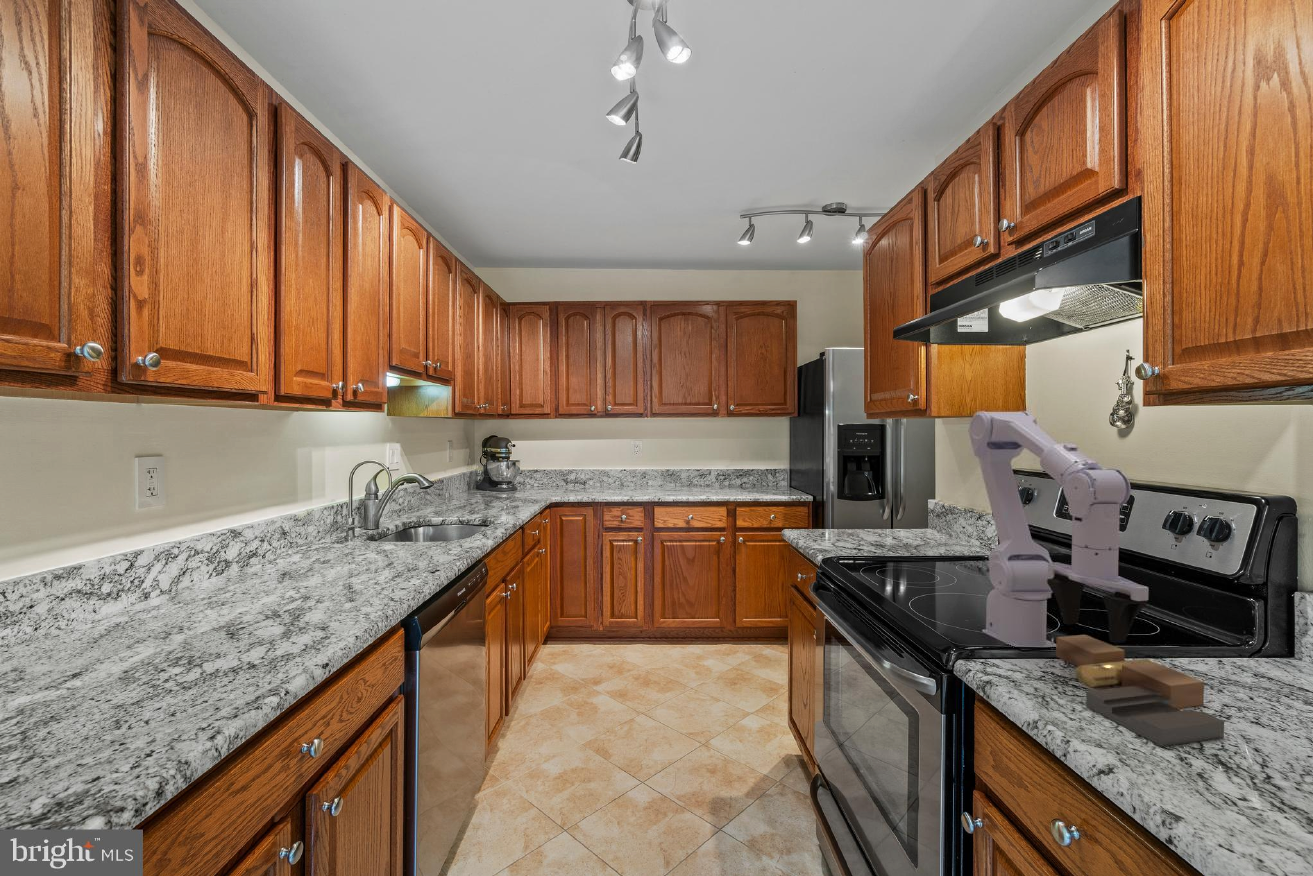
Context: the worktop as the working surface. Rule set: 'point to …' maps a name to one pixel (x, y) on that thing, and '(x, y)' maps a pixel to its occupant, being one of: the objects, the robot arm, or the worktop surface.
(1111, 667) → the axle
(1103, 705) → the v block
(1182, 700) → the beam
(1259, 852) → the worktop surface
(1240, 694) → the worktop surface
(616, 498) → the worktop surface
